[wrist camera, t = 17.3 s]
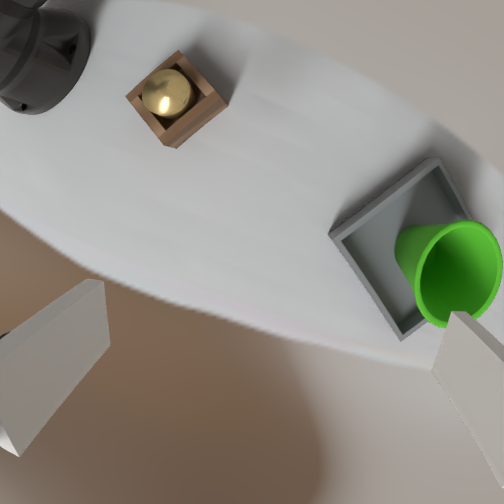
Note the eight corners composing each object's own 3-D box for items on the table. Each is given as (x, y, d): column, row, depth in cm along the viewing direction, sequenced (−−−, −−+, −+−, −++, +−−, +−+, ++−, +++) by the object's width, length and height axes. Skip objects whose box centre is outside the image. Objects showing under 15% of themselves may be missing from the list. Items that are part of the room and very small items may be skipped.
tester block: (140, 103, 32) (125, 96, 28) (189, 62, 30) (178, 49, 27) (176, 148, 33) (163, 145, 29) (228, 106, 31) (221, 97, 27)
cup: (446, 202, 31) (503, 214, 20) (449, 280, 33) (499, 316, 22) (372, 212, 32) (412, 227, 21) (379, 294, 34) (414, 340, 23)
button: (145, 98, 29) (133, 91, 26) (178, 69, 28) (169, 60, 25) (169, 128, 30) (159, 123, 27) (204, 99, 29) (196, 91, 26)
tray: (327, 234, 33) (332, 239, 31) (427, 158, 31) (439, 157, 28) (392, 330, 35) (400, 341, 32) (480, 259, 32) (493, 265, 29)
